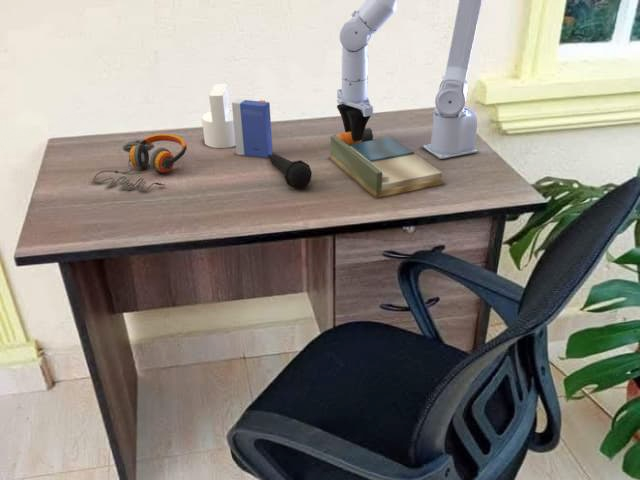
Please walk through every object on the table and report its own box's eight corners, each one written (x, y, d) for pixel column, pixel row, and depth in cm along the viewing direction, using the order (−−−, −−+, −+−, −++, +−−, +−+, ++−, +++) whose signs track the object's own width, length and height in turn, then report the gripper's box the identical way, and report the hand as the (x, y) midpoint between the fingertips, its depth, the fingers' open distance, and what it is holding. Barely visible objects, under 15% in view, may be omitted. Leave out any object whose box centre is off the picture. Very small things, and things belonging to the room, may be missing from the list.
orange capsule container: (367, 138, 156) (367, 125, 154) (373, 143, 154) (373, 130, 152) (334, 144, 153) (334, 132, 151) (339, 149, 151) (339, 136, 149)
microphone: (263, 172, 148) (297, 197, 132) (253, 149, 145) (286, 172, 129) (284, 161, 149) (320, 184, 133) (274, 138, 146) (310, 158, 129)
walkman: (272, 153, 149) (269, 100, 142) (267, 158, 147) (264, 104, 140) (241, 149, 152) (236, 97, 144) (236, 154, 149) (231, 101, 142)
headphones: (82, 172, 136) (137, 120, 147) (92, 193, 139) (144, 141, 151) (149, 186, 130) (201, 131, 141) (157, 207, 134) (207, 152, 145)
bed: (391, 147, 151) (392, 125, 148) (442, 184, 135) (444, 160, 132) (330, 159, 146) (330, 136, 143) (376, 198, 130) (377, 173, 127)
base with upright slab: (240, 147, 153) (236, 95, 145) (202, 148, 153) (195, 96, 146) (244, 133, 160) (240, 83, 153) (207, 134, 160) (201, 84, 153)
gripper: (324, 71, 149) (325, 130, 157) (352, 89, 138) (351, 151, 146) (353, 67, 151) (352, 126, 159) (382, 84, 140) (380, 146, 148)
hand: (353, 137), depth 153 cm, fingers closed on orange capsule container, 3 cm apart
